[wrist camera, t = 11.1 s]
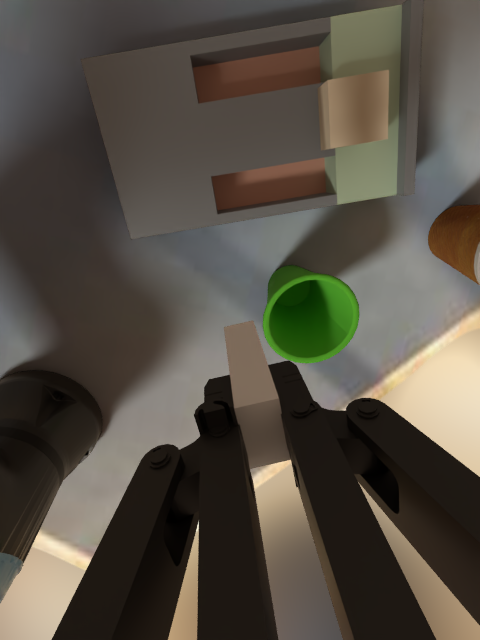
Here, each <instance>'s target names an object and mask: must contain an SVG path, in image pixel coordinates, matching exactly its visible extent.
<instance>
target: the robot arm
mask: <svg viewBox="0 0 480 640" xmlns="http://www.w3.org/2000/svg"><path fill="white" fill-rule="evenodd" d="M224 332H225V339H226V347H227V355H228V363H229V371H230V375H227V376H222V377H218V378H214V379H209V381H208V382H207V384H206V386H205V387H204V396H205V397H204V403H203V404H201V405H200V406H199V407H198V408H197V409H196V411H195V414H194V417H195V420H196V423H197V426H198V429H199V432H200V437H199V438H198V439H197V440H196V441H195V442H193V443H192V444H190V445H188V446H186V447H184V448H182V449H180V450H179V449H178V448H177V447H176V446H174V445H170V444H165V445H160V446H157V447H155V448H153V449H151V450H150V451H149V452H148V453H146V454H145V456H144V457H143V458H142V460H141V462H140V464H139V466H138V468H137V470H136V472H135V474H134V476H133V478H132V480H131V482H130V484H129V486H128V488H127V490H126V492H125V494H124V496H123V498H122V500H121V502H120V504H119V506H118V508H117V510H116V512H115V514H114V516H113V518H112V520H111V522H110V524H109V526H108V528H107V530H106V532H105V534H104V536H103V538H102V540H101V542H100V544H99V546H98V548H97V550H96V552H95V554H94V556H93V558H92V560H91V562H90V564H89V566H88V568H87V570H86V572H85V574H84V576H83V578H82V580H81V582H80V584H79V586H78V588H77V590H76V592H75V594H74V596H73V598H72V600H71V602H70V604H69V606H68V608H67V610H66V612H65V614H64V616H63V618H62V620H61V622H60V624H59V626H58V628H57V630H56V632H55V634H54V636H53V638H52V640H168V637H169V633H170V629H171V625H172V621H173V617H174V613H175V610H176V606H177V602H178V598H179V594H180V590H181V587H182V582H183V579H184V575H185V571H186V567H187V563H188V559H189V556H190V552H191V548H192V544H193V540H194V536H195V532H196V529H197V525H198V521H199V556H198V557H199V558H198V559H199V560H198V626H197V628H198V629H197V640H278V635H277V628H276V622H275V616H274V610H273V603H272V597H271V591H270V585H269V579H268V573H267V566H266V560H265V554H264V548H263V541H262V535H261V529H260V523H259V516H258V511H257V504H256V498H255V491H254V485H253V480H252V476H251V472H250V469H252V468H256V467H260V466H265V465H269V464H274V463H278V462H282V461H287V460H291V462H292V467H293V472H294V477H295V482H296V487H298V489H299V492H300V495H301V499H302V502H303V506H304V509H305V512H306V516H307V519H308V522H309V526H310V529H311V532H312V536H313V539H314V543H315V546H316V549H317V553H318V556H319V559H320V563H321V566H322V570H323V573H324V576H325V580H326V583H327V587H328V590H329V594H330V597H331V600H332V604H333V607H334V610H335V613H336V617H337V621H338V624H339V627H340V630H341V634H342V638H343V640H436V638H435V636H434V634H433V632H432V630H431V628H430V626H429V624H428V622H427V620H426V618H425V616H424V614H423V612H422V610H421V608H420V606H419V604H418V602H417V600H416V598H415V596H414V594H413V592H412V590H411V588H410V586H409V584H408V582H407V580H406V578H405V576H404V574H403V572H402V570H401V568H400V566H399V564H398V562H397V560H396V557H395V555H394V554H393V551H392V550H391V547H390V545H389V543H388V541H387V539H386V537H385V535H384V533H383V531H382V530H381V527H380V525H379V523H378V521H377V519H376V517H375V515H374V514H373V511H372V509H371V507H370V505H369V503H368V501H367V499H366V497H365V495H364V493H363V491H362V489H361V487H360V485H359V483H360V484H361V485H362V487H363V488H364V489H365V490H366V491H367V493H368V494H369V495H370V496H371V497H372V498H373V500H374V501H375V502H376V503H377V504H378V506H379V507H380V508H381V509H382V510H383V512H384V513H385V514H386V515H387V516H388V517H389V519H390V520H391V521H392V522H393V523H394V525H395V526H396V527H397V528H398V529H399V530H400V532H401V533H402V534H403V535H404V536H405V538H406V539H407V540H408V541H409V542H410V543H411V545H412V546H413V547H414V548H415V549H416V550H417V552H418V553H419V554H420V555H421V557H422V558H423V559H424V560H425V561H426V562H427V564H428V565H429V566H430V567H431V568H432V569H433V571H434V572H435V573H436V574H437V575H438V577H440V579H441V580H442V581H443V582H444V584H445V585H446V586H447V587H448V588H449V590H450V591H451V592H452V593H453V594H454V596H455V597H456V598H457V599H458V600H459V601H460V603H461V604H462V605H463V606H464V607H465V609H466V610H467V611H468V612H469V613H470V614H471V616H472V617H473V618H474V619H475V620H476V622H477V623H478V624H479V625H480V477H479V476H478V475H476V474H475V473H474V472H472V471H471V470H470V469H469V468H467V467H466V466H465V465H463V464H462V463H461V462H460V461H458V460H457V459H456V458H454V457H453V456H452V455H451V454H449V453H448V452H447V451H445V450H444V449H443V448H441V447H440V446H439V445H438V444H436V443H435V442H434V441H432V440H431V439H430V438H429V437H427V436H426V435H425V434H423V433H422V432H421V431H419V430H418V429H417V428H416V427H414V426H413V425H412V424H411V423H409V422H408V421H407V420H405V419H404V418H403V417H401V416H400V415H399V414H398V413H396V412H395V411H394V410H392V409H391V408H390V407H389V406H387V405H386V404H385V403H383V402H381V401H379V400H376V399H372V398H360V399H356V400H354V401H352V402H351V403H349V405H348V406H347V408H346V411H335V410H328V409H324V408H322V407H321V406H320V405H319V404H318V403H317V402H315V401H313V399H312V397H311V395H310V392H309V390H308V388H307V386H306V384H305V382H304V380H303V378H302V376H301V374H300V372H299V370H298V368H297V366H296V365H295V364H293V363H292V362H290V361H284V362H280V363H276V364H271V365H268V364H267V361H266V358H265V355H264V352H263V349H262V346H261V343H260V340H259V337H258V334H257V331H256V328H255V325H254V322H253V321H249V322H244V323H240V324H235V325H231V326H227V327H224ZM101 430H102V415H101V411H100V409H99V406H98V404H97V403H96V401H95V400H94V398H93V397H92V396H91V394H90V393H89V392H88V391H87V390H86V389H84V388H83V387H82V386H81V385H79V384H78V383H76V382H75V381H73V380H71V379H69V378H67V377H64V376H62V375H59V374H56V373H52V372H47V371H37V370H32V371H22V372H18V373H14V374H11V375H9V376H7V377H5V378H3V379H2V380H0V603H1V601H2V600H3V598H4V596H5V594H6V592H7V590H8V589H9V587H10V585H11V584H12V582H13V580H14V578H15V576H16V575H17V574H19V572H20V571H21V569H22V566H23V563H24V561H25V559H26V557H27V555H28V553H29V551H30V548H31V546H32V544H33V542H34V540H35V538H36V536H37V534H38V532H39V530H40V527H41V525H42V523H43V521H44V519H45V517H46V515H47V513H48V511H49V509H50V506H51V504H52V502H53V500H54V498H55V496H56V494H57V491H58V489H59V488H60V486H61V484H62V482H63V480H64V479H65V478H66V477H67V476H68V475H69V474H70V473H71V472H72V471H73V470H74V469H75V468H76V467H77V466H78V464H79V463H81V462H82V461H83V460H84V459H85V458H86V457H87V456H88V455H89V454H90V453H91V452H92V450H93V448H94V447H95V445H96V442H97V440H98V438H99V436H100V433H101ZM358 482H359V483H358Z"/></svg>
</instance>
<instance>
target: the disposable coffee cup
mask: <svg viewBox="0 0 480 640" xmlns="http://www.w3.org/2000/svg"><path fill="white" fill-rule="evenodd" d="M428 244H429V247H430V250H431V251H432V253H433V254H434V255H435V256H436V257H438V258H439V259H441V260H443V261H444V262H445V263H447V264H449V265H450V266H452V267H453V268H454V269H456V270H458V271H459V272H461V273H462V274H463V275H465V276H467V277H468V278H470V279H471V280H473V281H474V282H476V283H477V284H479V285H480V205H464V206H462V205H461V206H455V207H451V208H449V209H448V210H446V211H444V212H443V213H441V214H440V215H439V216H438V217H437V218H436V220H435V221H434V223H433V224H432V226H431V228H430V231H429V236H428Z"/></svg>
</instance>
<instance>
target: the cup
mask: <svg viewBox="0 0 480 640" xmlns="http://www.w3.org/2000/svg"><path fill="white" fill-rule="evenodd" d="M358 320H359V304H358V302H357V299H356V296H355V294H354V293H353V291H352V290H351V289H350V287H349V286H348V285H347V284H345V283H344V282H343V281H341V280H340V279H338V278H336V277H333V276H331V275H327V274H319V273H313V272H311V271H308V270H306V269H303V268H301V267H298V266H294V265H289V266H284V267H281V268H280V269H278V270H277V271H275V273H274V274H273V275H272V276H271V278H270V280H269V283H268V298H267V305H266V309H265V312H264V315H263V330H264V334H265V338H266V339H267V341H268V343H269V345H270V346H271V348H272V349H273V350H274V351H275V352H276V353H277V354H279V355H280V356H282V357H284V358H285V359H288V360H291V361H294V362H298V363H314V362H320V361H323V360H326V359H329V358H330V357H332V356H334V355H336V354H337V353H339V352H340V351H341V350H342V349H343V348H344V347H345V346H347V344H348V343H349V342H350V340H351V339H352V337H353V336H354V333H355V331H356V329H357V326H358Z"/></svg>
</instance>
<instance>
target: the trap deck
mask: <svg viewBox="0 0 480 640" xmlns="http://www.w3.org/2000/svg"><path fill="white" fill-rule="evenodd" d="M423 6H424V0H406V1H405V2H404V3H403V4H402V5H396V6H390V7H384V8H378V9H372V10H366V11H360V12H355V13H349V14H343V15H337V16H331V17H325V18H319V19H313V20H307V21H302V22H296V23H290V24H284V25H278V26H272V27H266V28H260V29H255V30H249V31H243V32H237V33H231V34H225V35H219V36H213V37H207V38H202V39H196V40H190V41H184V42H178V43H172V44H166V45H160V46H154V47H149V48H143V49H137V50H131V51H125V52H119V53H113V54H107V55H102V56H96V57H90V58H84V59H81V63H82V66H83V70H84V73H85V77H86V81H87V84H88V88H89V91H90V95H91V98H92V102H93V106H94V109H95V113H96V116H97V120H98V123H99V127H100V131H101V134H102V138H103V141H104V145H105V148H106V152H107V156H108V159H109V163H110V166H111V170H112V173H113V177H114V181H115V184H116V188H117V191H118V195H119V198H120V202H121V206H122V209H123V213H124V216H125V220H126V223H127V227H128V231H129V234H130V238H131V239H136V238H142V237H148V236H154V235H160V234H166V233H172V232H178V231H184V230H190V229H196V228H202V227H208V226H214V225H220V224H226V223H232V222H238V221H244V220H250V219H255V218H261V217H267V216H273V215H279V214H285V213H291V212H297V211H303V210H309V209H315V208H321V207H327V206H333V205H339V204H345V203H351V202H357V201H363V200H369V199H375V198H381V197H387V196H393V195H401V196H406V195H412V194H414V190H415V169H416V149H417V128H418V108H419V88H420V67H421V47H422V26H423ZM384 70H389V103H388V139H385V140H380V141H374V142H369V143H363V144H357V145H351V146H345V147H339V148H333V149H327V150H321V143H320V124H319V105H318V88H319V87H320V86H321V85H322V84H323V83H325V82H326V81H327V80H331V79H337V78H343V77H349V76H354V75H360V74H366V73H372V72H378V71H384Z"/></svg>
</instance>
